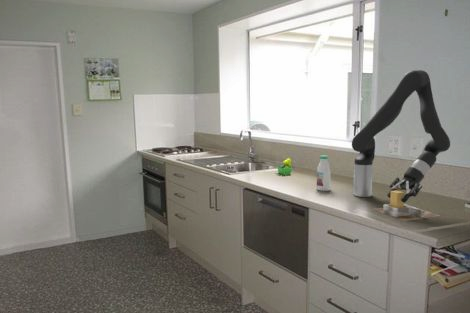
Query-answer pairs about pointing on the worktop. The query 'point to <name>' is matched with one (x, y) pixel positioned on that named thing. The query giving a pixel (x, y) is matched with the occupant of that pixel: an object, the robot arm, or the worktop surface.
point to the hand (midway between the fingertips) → (395, 199)
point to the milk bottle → (323, 174)
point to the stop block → (396, 199)
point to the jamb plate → (405, 212)
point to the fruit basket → (285, 167)
